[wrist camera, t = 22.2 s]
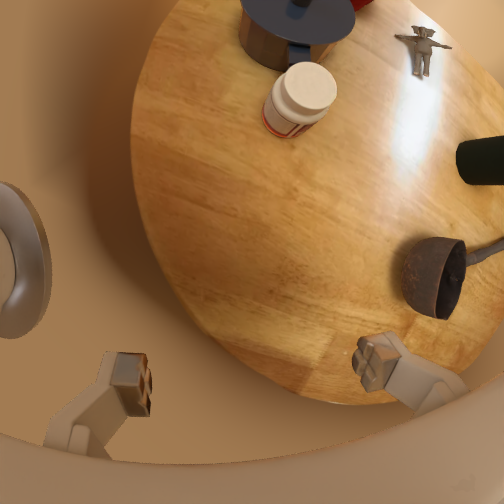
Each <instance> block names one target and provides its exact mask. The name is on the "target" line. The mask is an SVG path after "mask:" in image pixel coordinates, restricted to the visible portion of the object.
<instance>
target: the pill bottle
mask: <svg viewBox="0 0 504 504" xmlns="http://www.w3.org/2000/svg"><path fill="white" fill-rule="evenodd" d="M336 95H337V85H336V82H335V79H334V78H333V76H332V75H331V73H330V72H329V71H328V70H327V69H325V68H324V67H322V66H321V65H319V64H316V63H313V62H300V63H297V64H294V65H293V66H291V67H290V68H289V69H288V70H287V72H286V73H284V74H283V75H281V76H280V77H279V78H278V79H277V80H276V82H275V83H274V85H273V87H272V89H271V91H270V93H269V95H268V97H267V99H266V101H265V103H264V106H263V109H262V118H263V122H264V124H265V126H266V127H267V128H268V130H269V131H271V132H272V133H273V134H275V135H277V136H279V137H283V138H293V137H296V136H299V135H300V134H302V133H303V132H305V131H306V130H307V129H309V128H310V127H311V126H312V125H314V124H315V123H316V122H318V121H319V120H320V119H322V118H323V117H324V116H325V114H326V113H327V111H328V109H329V107H330V105H331V104H332V103H333V101H334V100H335V98H336Z"/></svg>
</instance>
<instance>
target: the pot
mask: <svg viewBox="0 0 504 504" xmlns="http://www.w3.org/2000/svg"><path fill="white" fill-rule="evenodd" d="M239 39H240V42H241V45H242V47H243V48H244V50H245V51H246V52H247V54H248V55H249V56H250V57H251V58H253V59H254V60H255V61H257V62H258V63H260V64H262V65H264V66H266V67H268V68H271V69H274V70H278V71H283V72H287V70H288V69H289V68H290V67H291V66H293V65H294V64H297V63H300V62H313V63H316V64H319V63H320V62H321V61H322V60H324V58H325V57H326V56H327V55H328V53H329V52H330V51H331V50H332V48H333V47H334V46H335V45H336V44H337V43H334V44H330V45H325V46H306V45H299V44H294V43H290V42H287V41H284V40H281V39H279V38H276V37H274V36H272V35H270V34H268V33H267V32H265V31H263V30H262V29H260V28H259V27H258V26H256V25H255V24H254V23H253V22H252V21H251V20H250V19H249V18H248V17H247V15H246V14H245V12H244V11H243V8H242V10H241V16H240V23H239Z"/></svg>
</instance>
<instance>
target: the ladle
mask: <svg viewBox="0 0 504 504" xmlns="http://www.w3.org/2000/svg"><path fill="white" fill-rule="evenodd" d="M503 250H504V239H502V240H501V241H499V242H497V243H495V244H493V245H491V246H489V247H486V248H482V249H478V250H476V251H474V252H471V253H469V254H467V253H466V246H465V243H464V241H463V240H458V239H451V238H444V237H433V238H428V239H424V240H422V241H420V242H418V243H417V244H416V245H415V246H414V247H413V248H412V249H411V251H410V252H409V254H408V255H407V257H406V259H405V262H404V265H403V269H402V275H401V285H402V291H403V295H404V297H405V299H406V301H407V303H408V304H409V305H410V306H411V307H412V308H413V309H414V310H415V311H417V312H419V313H421V314H423V315H426V316H429V317H433V318H436V319H444V320H448V318H449V316H450V315H451V313H452V312H453V310H454V308H455V306H456V304H457V302H458V299H459V296H460V292H461V287H462V283H463V281H464V279H465V273H466V267H468V266H470V265H474V264H477V263H479V262H482V261H483V260H485V259H486V258H487V257H489V256H491V255H493V254H495V253H497V252H500V251H503ZM456 279H457V280H458V281H457V280H456Z"/></svg>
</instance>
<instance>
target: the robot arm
mask: <svg viewBox="0 0 504 504" xmlns="http://www.w3.org/2000/svg"><path fill="white" fill-rule="evenodd" d="M14 281H15V264H14V258H13V253H12V250H11V247H10V244H9V242H8V239H7V237H6V236H5V234H4V232H3V231H2V230H1V228H0V314H1V312H2V307H3V304H4V303H5V302H6V301H7V299H8V298H9V297H10V295H11V293H12V290H13V287H14ZM357 346H358V349H357V350H356V351H355V352H354V353H353V357H352V366H353V369H354V371H355V373H356V374H357V375H359V376H361V381H360V382H361V384H362V385H363V387H364V389H365V390H366V392H367V393H368V392H373V391H377V390H381V389H384V390H385V391H387V392H388V393H389V394H391V395H392V396H394V397H395V398H397V399H398V400H399V401H401V402H402V403H404V404H405V405H407V406H408V407H410V408H411V409H412V410H414V411H415V413H414V414H413V416H412V417H411V419H410V420H409V421H407V422H404V423H402V424H399V425H397V426H394V427H392V428H389V429H386V430H383V431H380V432H377V433H374V434H371V435H368V436H365V437H362V438H358V439H355V440H352V441H348V442H344V443H341V444H337V445H333V446H329V447H325V448H321V449H316V450H312V451H308V452H303V453H298V454H292V455H286V456H280V457H274V458H267V459H260V460H252V461H243V462H231V463H217V464H182V465H181V464H178V465H177V464H151V463H150V464H149V463H136V462H125V461H116V460H112V459H111V457H110V456H109V454H108V453H107V452H106V450H105V449H104V446H105V445H106V444H107V443H108V441H109V440H110V439H111V438H112V436H113V435H114V434H115V433H116V431H117V430H118V429H119V428H120V426H121V425H122V424H123V423H124V421H125V420H126V419H127V416H131V417H150V406H151V402H150V399H149V395H150V394H151V393H152V377H151V372H150V369H149V368H148V367H147V362H148V360H147V357H146V354H144V353H125V352H124V353H123V352H105V354H104V355H103V359H102V362H101V365H100V369H99V372H98V376H97V379H96V383H95V384H91V385H90V386H88V387H87V388H86V389H85V390H84V391H83V392H81V393H80V394H79V395H78V396H77V397H75V398H74V399H73V400H72V401H71V402H69V403H68V404H67V405H66V406H65V407H64V408H62V409H61V410H60V411H59V412H58V413H56V414H55V415H54V416H53V417H52V418H51V419H50V422H49V426H48V429H47V432H46V436H45V440H44V443H43V446H40V445H36V444H32V443H29V442H26V441H23V440H20V439H17V438H14V437H11V436H8V435H5V434H2V433H0V504H504V371H503V372H502V373H500V374H499V375H497V376H496V377H494V378H492V379H491V380H489V381H487V382H486V383H484V384H482V385H481V386H479V387H477V388H476V389H474V390H472V391H470V390H469V389H468V387H467V386H466V385H465V384H464V382H463V381H462V380H461V379H460V378H459V376H458V375H457V374H456V373H454V372H452V371H450V370H448V369H446V368H444V367H441V366H439V365H437V364H435V363H433V362H431V361H429V360H427V359H424V358H422V357H420V356H418V355H416V354H411V353H410V351H409V350H408V349H407V348H406V346H405V345H404V344H403V343H402V341H401V340H400V339H399V338H398V337H397V335H396V334H395V333H394V332H392V331H388V332H383V333H378V334H373V335H368V336H362V337H360V338H359V339H358V342H357Z"/></svg>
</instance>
